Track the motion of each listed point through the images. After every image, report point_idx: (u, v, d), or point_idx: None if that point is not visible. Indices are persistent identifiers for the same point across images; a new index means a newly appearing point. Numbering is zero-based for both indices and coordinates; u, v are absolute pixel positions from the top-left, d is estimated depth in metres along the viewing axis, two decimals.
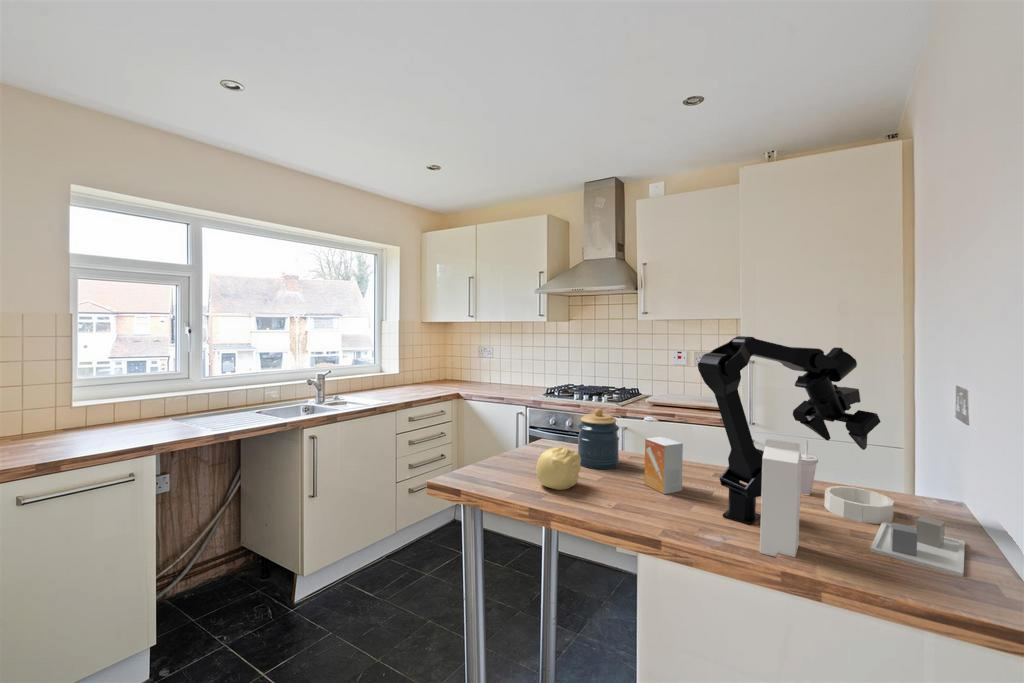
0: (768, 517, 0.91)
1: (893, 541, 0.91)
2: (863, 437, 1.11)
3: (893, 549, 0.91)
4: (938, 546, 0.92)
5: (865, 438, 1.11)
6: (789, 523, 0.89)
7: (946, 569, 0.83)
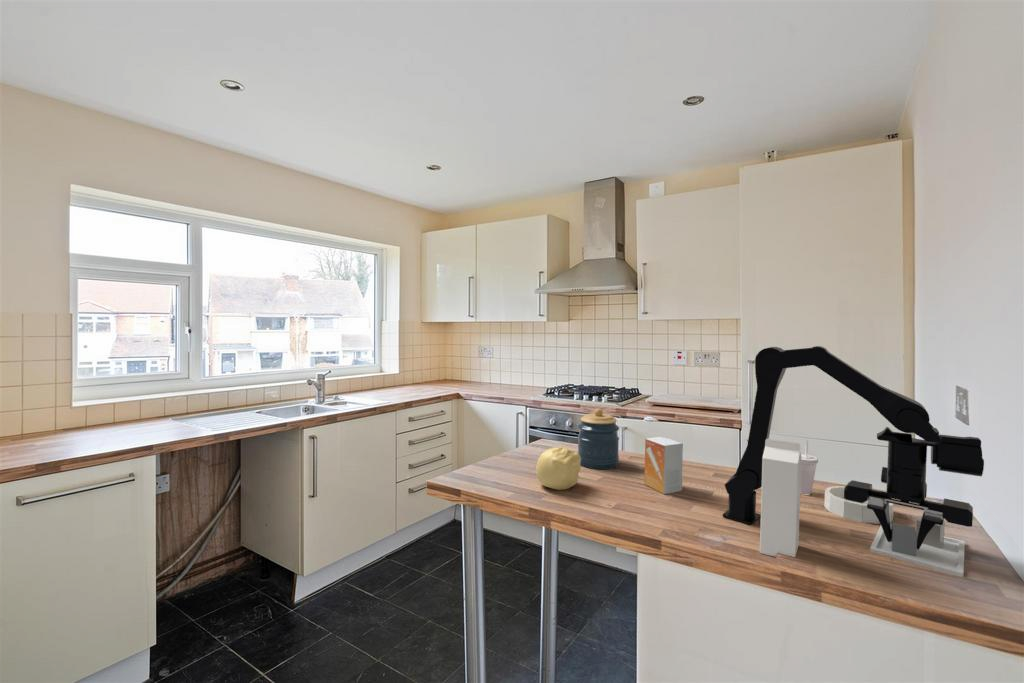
0: (768, 517, 0.91)
1: (893, 541, 0.91)
2: None
3: (893, 549, 0.91)
4: (938, 546, 0.92)
5: None
6: (789, 523, 0.89)
7: (946, 569, 0.83)
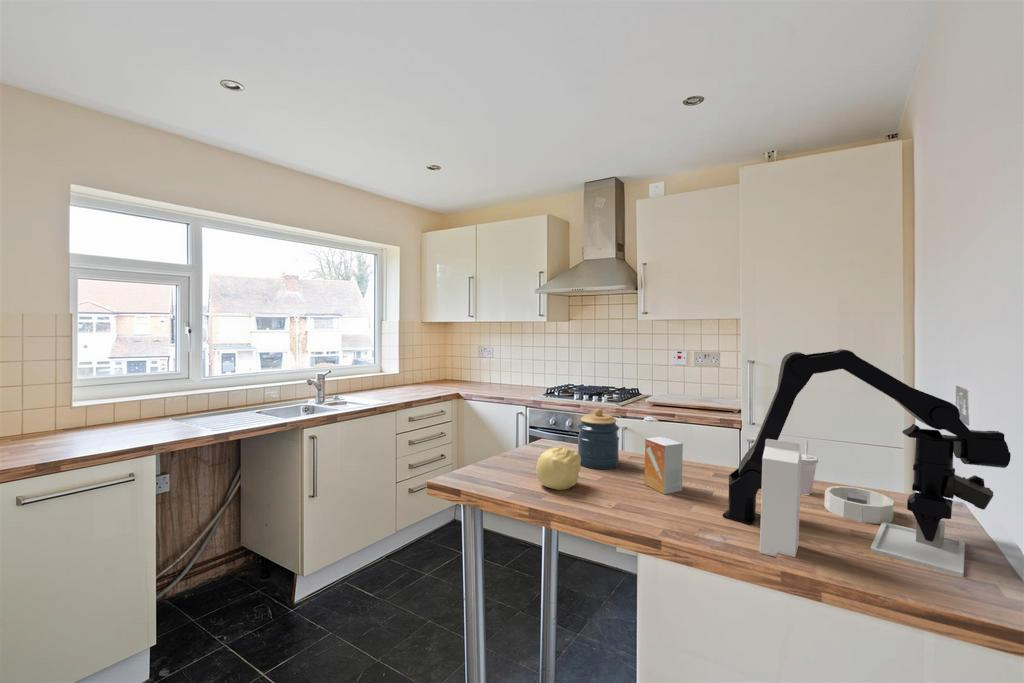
0: (768, 517, 0.91)
1: None
2: (929, 523, 0.92)
3: None
4: (938, 546, 0.92)
5: (932, 527, 0.92)
6: (789, 523, 0.89)
7: (946, 569, 0.83)
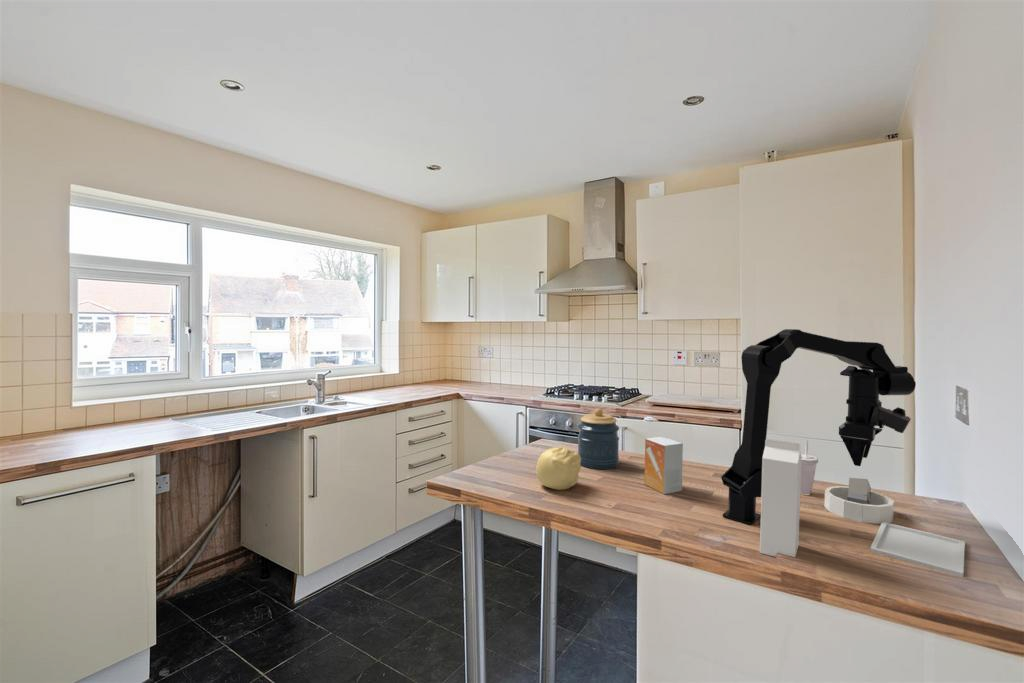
0: (768, 517, 0.91)
1: None
2: (856, 450, 1.06)
3: None
4: (866, 494, 1.09)
5: (859, 453, 1.06)
6: (789, 523, 0.89)
7: (946, 569, 0.83)
